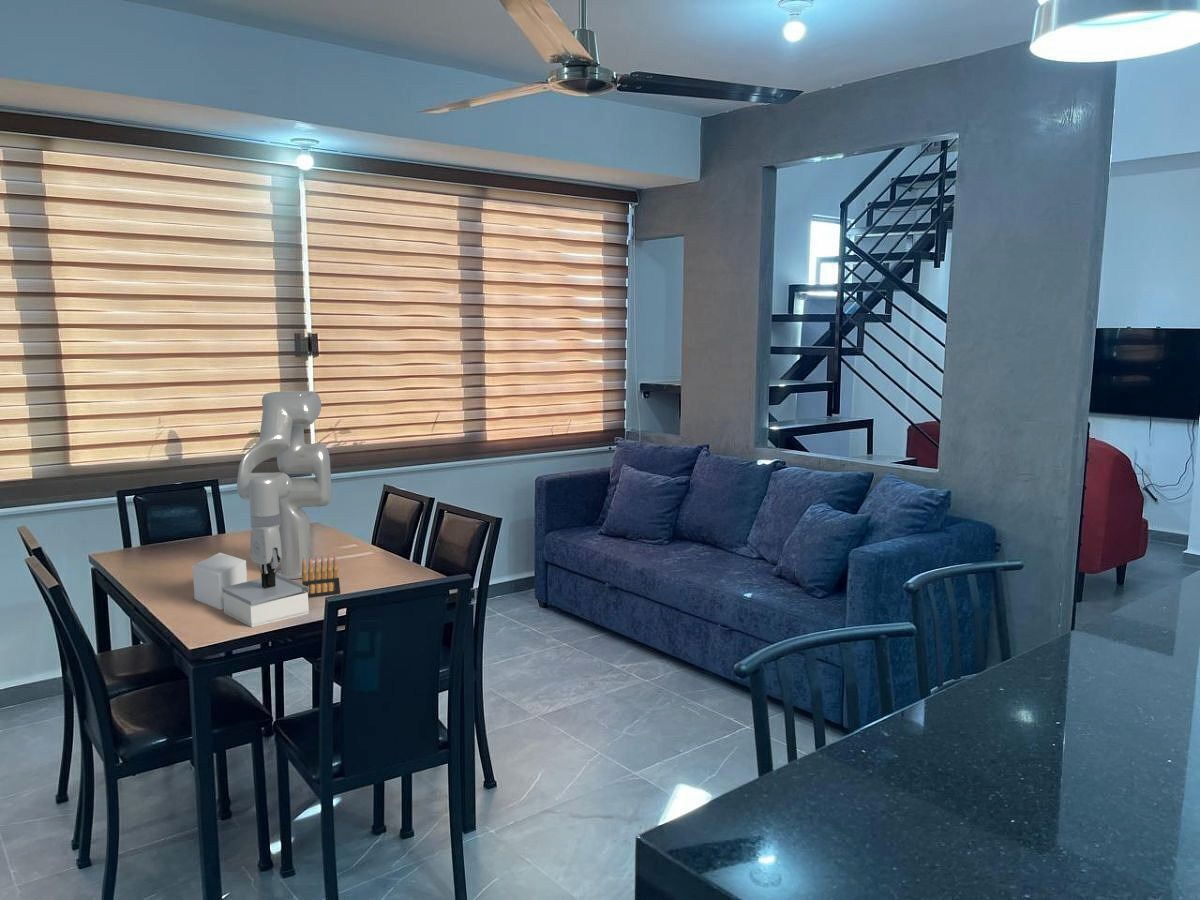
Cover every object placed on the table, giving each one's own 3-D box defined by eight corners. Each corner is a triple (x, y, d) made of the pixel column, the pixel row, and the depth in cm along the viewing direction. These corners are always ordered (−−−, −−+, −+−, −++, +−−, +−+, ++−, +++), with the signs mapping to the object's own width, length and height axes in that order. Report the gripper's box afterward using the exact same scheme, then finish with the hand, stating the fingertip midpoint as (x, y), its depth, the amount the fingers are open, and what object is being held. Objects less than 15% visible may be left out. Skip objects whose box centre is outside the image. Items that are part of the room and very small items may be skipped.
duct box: (224, 612, 240) (222, 591, 240) (283, 599, 252) (281, 579, 252) (251, 627, 228) (250, 605, 227) (312, 612, 240) (311, 591, 239)
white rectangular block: (247, 581, 272) (245, 550, 271) (248, 607, 246) (246, 572, 245) (196, 587, 267) (194, 554, 266) (192, 613, 240) (190, 577, 239)
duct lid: (222, 591, 240) (221, 587, 240) (277, 577, 251) (277, 574, 251) (251, 605, 227) (250, 601, 226) (308, 590, 238) (308, 586, 238)
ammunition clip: (339, 592, 259) (337, 553, 258) (340, 594, 258) (338, 554, 256) (302, 596, 255) (300, 557, 254) (302, 598, 253) (300, 558, 252)
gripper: (240, 520, 239) (243, 584, 241) (264, 526, 229) (267, 594, 231) (266, 516, 245) (269, 579, 247) (291, 522, 234) (294, 589, 236)
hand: (268, 586), depth 239 cm, fingers closed
